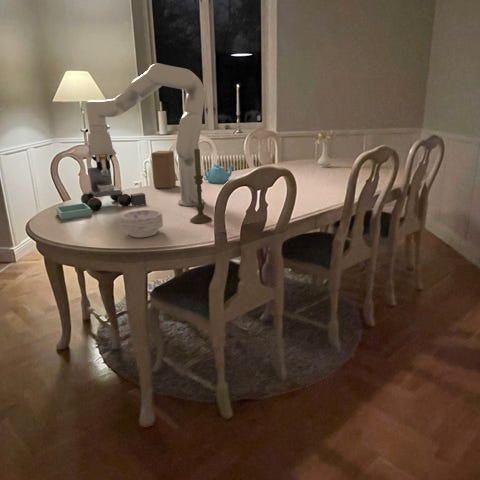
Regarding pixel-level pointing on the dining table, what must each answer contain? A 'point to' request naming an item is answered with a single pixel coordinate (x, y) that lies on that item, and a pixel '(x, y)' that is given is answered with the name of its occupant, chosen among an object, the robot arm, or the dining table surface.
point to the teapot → (218, 174)
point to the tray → (73, 211)
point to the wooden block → (163, 169)
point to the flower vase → (324, 147)
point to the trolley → (103, 190)
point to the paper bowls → (142, 223)
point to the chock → (138, 199)
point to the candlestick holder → (199, 193)
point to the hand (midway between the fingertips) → (104, 169)
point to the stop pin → (103, 165)
